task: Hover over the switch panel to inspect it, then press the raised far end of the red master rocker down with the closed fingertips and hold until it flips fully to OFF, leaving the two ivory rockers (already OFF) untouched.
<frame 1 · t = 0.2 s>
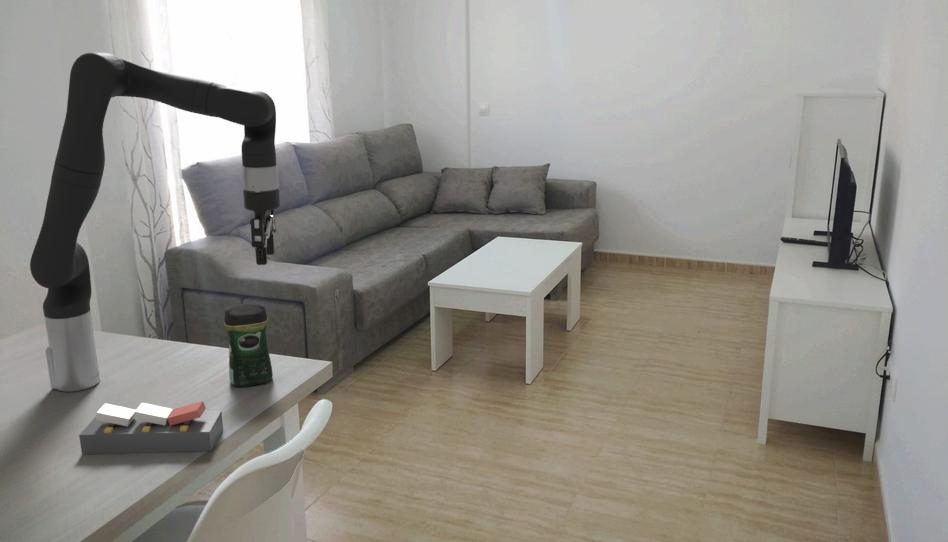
hand: (265, 259, 172), 29 cm above the table, fingers open, 8 cm apart
rocker 2: (153, 413, 150), point 6 cm above the table, hinge at 15.0°
coffee jar: (251, 381, 180), on the table
rocker 1: (116, 414, 150), point 6 cm above the table, hinge at 15.0°
switch panel: (154, 441, 152), on the table
rocker 3: (186, 413, 151), point 6 cm above the table, hinge at -15.0°
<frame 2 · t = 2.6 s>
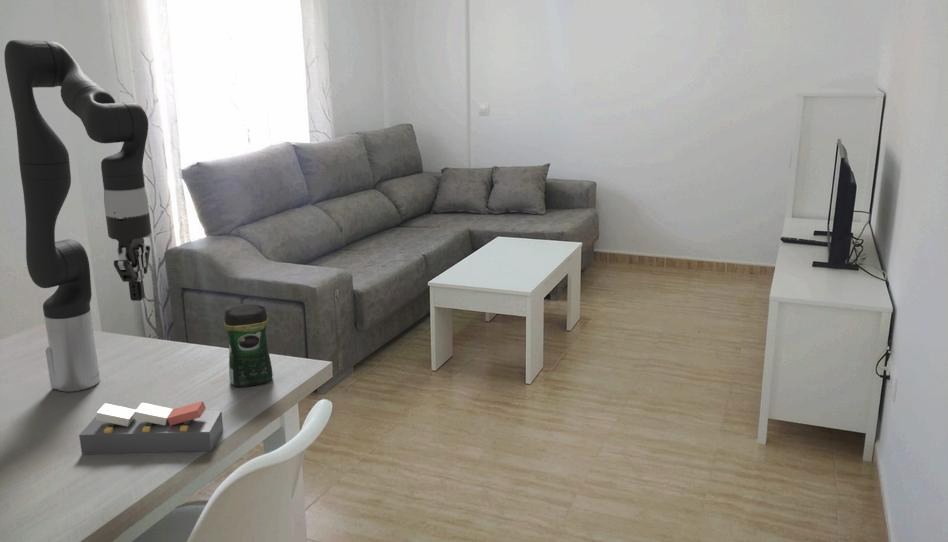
hand: (137, 299, 151), 27 cm above the table, fingers closed
nothing on the table moved.
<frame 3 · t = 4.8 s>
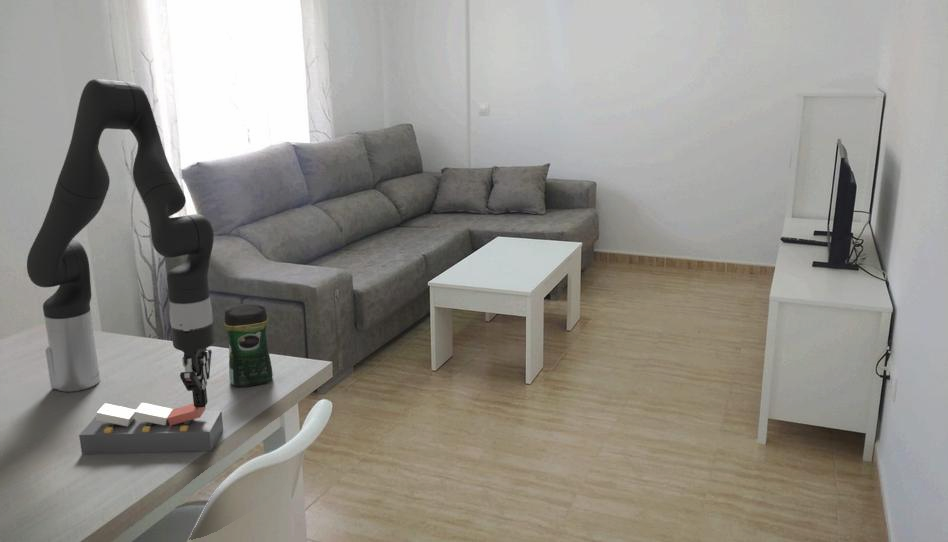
hand: (200, 405, 151), 7 cm above the table, fingers closed
rocker 3: (186, 413, 151), point 6 cm above the table, hinge at -14.9°, touching gripper
everything else where it was.
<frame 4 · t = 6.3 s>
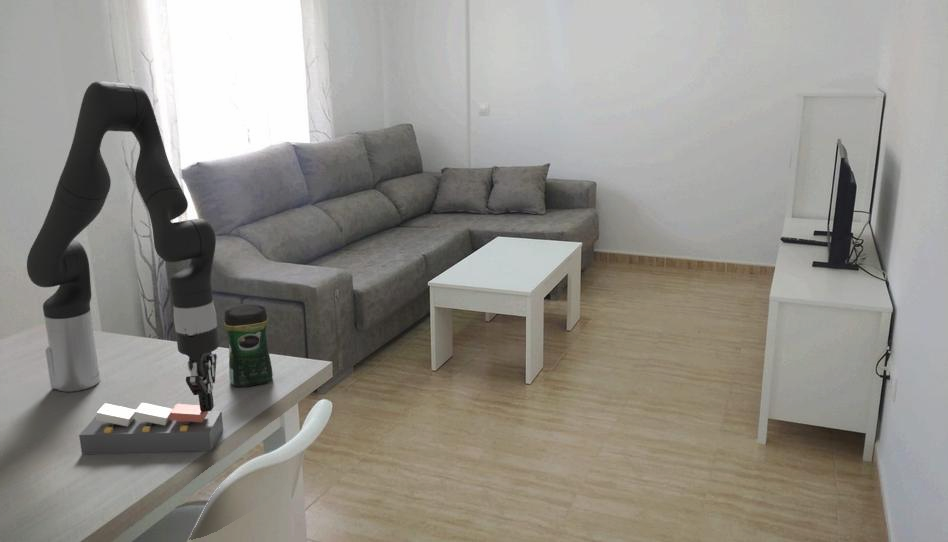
hand: (207, 409, 151), 6 cm above the table, fingers closed
rocker 3: (189, 412, 151), point 6 cm above the table, hinge at 5.5°, touching gripper
everything else where it was.
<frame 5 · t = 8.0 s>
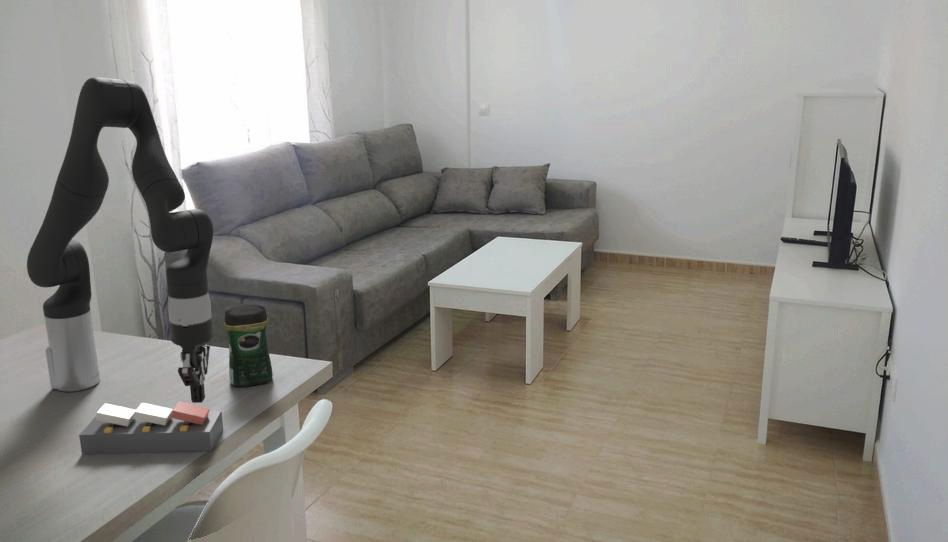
hand: (198, 401, 150), 8 cm above the table, fingers closed
rocker 3: (190, 413, 151), point 6 cm above the table, hinge at 16.4°
everything else where it was.
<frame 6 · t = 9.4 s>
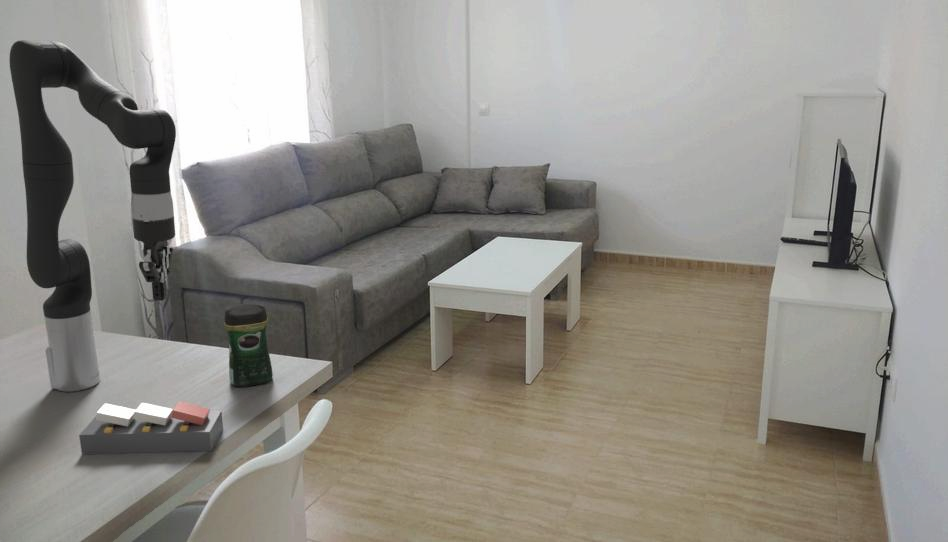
hand: (160, 299, 156), 26 cm above the table, fingers closed
rocker 3: (190, 413, 151), point 6 cm above the table, hinge at 17.5°
everything else where it was.
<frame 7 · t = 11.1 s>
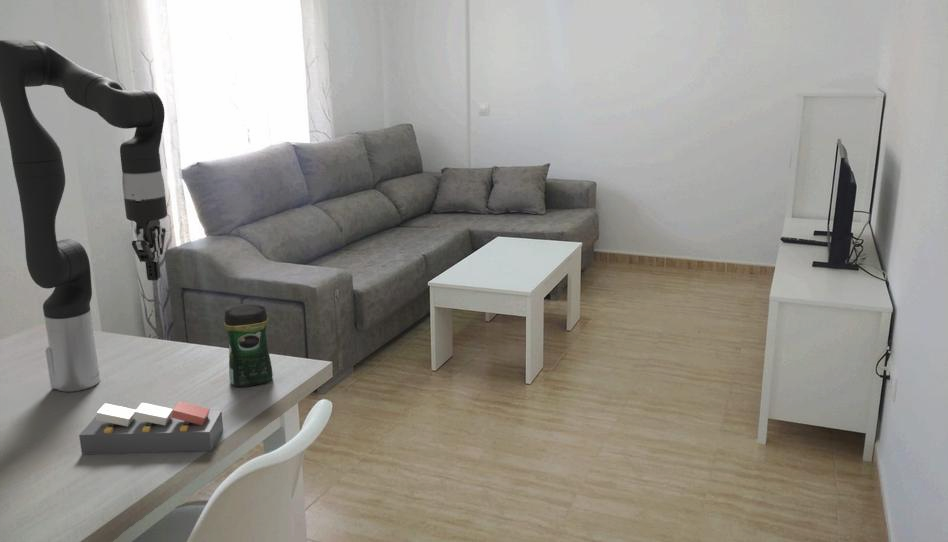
hand: (154, 279, 157), 29 cm above the table, fingers closed
nothing on the table moved.
at the end: rocker 3 at +18° (first picture: -15°); rocker 1 at +15° (first picture: +15°); rocker 2 at +15° (first picture: +15°) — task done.
